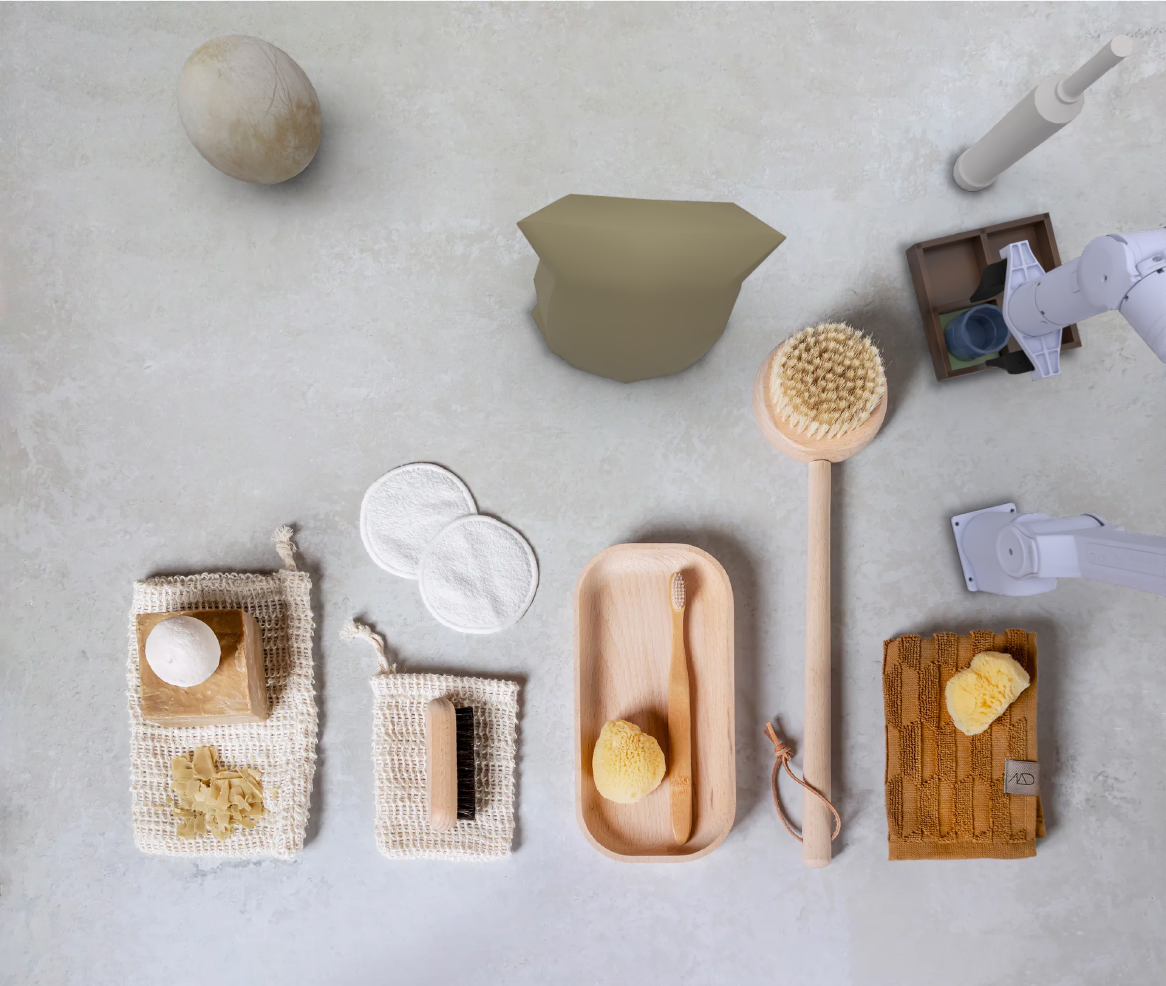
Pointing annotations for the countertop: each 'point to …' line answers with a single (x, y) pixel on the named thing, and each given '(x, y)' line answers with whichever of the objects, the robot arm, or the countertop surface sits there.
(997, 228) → the tray
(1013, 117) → the bottle
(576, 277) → the container
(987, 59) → the countertop surface
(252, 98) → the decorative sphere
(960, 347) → the cup
